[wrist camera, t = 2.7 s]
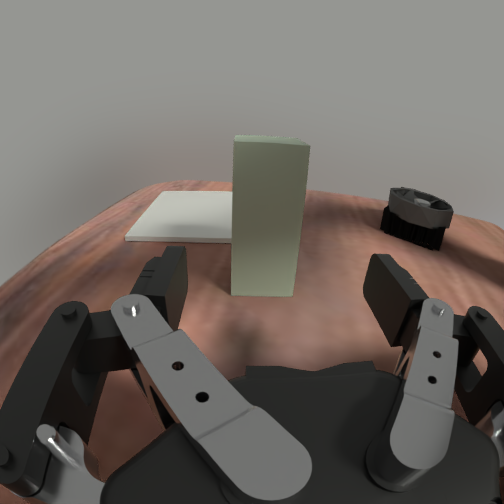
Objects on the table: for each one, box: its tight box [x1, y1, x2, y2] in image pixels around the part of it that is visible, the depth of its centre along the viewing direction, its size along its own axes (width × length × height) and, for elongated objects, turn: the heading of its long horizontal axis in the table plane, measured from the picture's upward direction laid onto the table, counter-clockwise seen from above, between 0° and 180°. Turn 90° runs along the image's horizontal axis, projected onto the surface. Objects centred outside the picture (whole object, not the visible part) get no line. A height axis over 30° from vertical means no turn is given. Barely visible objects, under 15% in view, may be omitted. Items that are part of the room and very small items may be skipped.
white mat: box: [125, 191, 232, 243], centre depth 40 cm, size 18×18×1 cm
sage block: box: [231, 135, 310, 297], centre depth 23 cm, size 5×5×12 cm
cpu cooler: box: [380, 187, 453, 251], centre depth 37 cm, size 10×6×10 cm
